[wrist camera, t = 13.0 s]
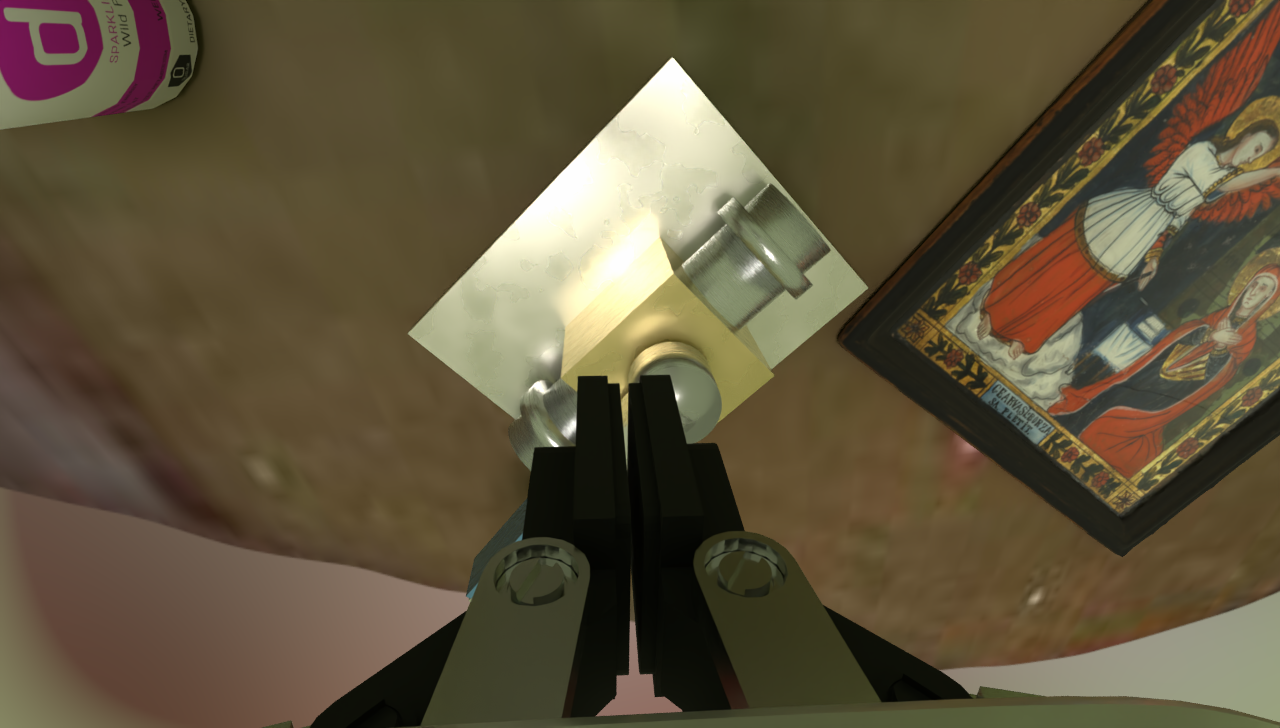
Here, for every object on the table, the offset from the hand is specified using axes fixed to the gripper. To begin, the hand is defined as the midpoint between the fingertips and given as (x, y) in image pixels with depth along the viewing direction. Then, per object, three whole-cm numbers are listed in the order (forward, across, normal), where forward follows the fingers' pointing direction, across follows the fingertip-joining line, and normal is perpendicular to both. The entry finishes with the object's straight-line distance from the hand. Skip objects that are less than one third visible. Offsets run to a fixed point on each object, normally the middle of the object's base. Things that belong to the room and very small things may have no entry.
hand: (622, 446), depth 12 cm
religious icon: (+29, -38, +6) cm, 48 cm away
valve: (+29, -2, +8) cm, 30 cm away
